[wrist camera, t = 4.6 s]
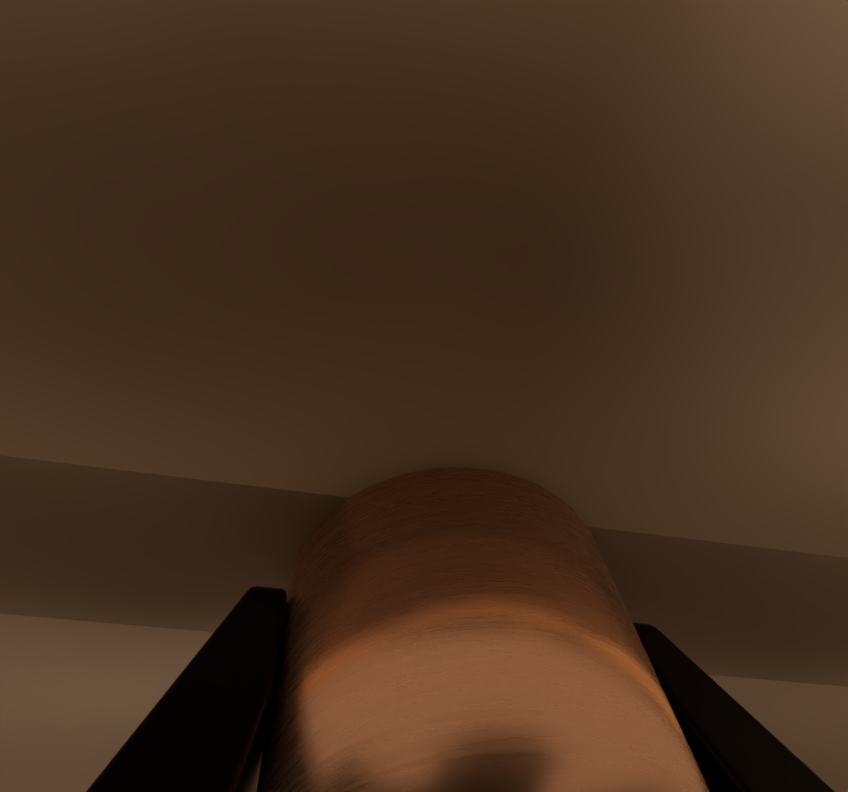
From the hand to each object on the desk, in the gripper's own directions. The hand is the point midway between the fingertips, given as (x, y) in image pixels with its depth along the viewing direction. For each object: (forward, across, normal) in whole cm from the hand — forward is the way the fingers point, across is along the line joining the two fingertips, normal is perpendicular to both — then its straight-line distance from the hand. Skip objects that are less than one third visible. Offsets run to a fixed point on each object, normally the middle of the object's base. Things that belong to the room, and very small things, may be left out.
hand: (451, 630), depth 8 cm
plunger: (+4, 0, 0) cm, 4 cm away
